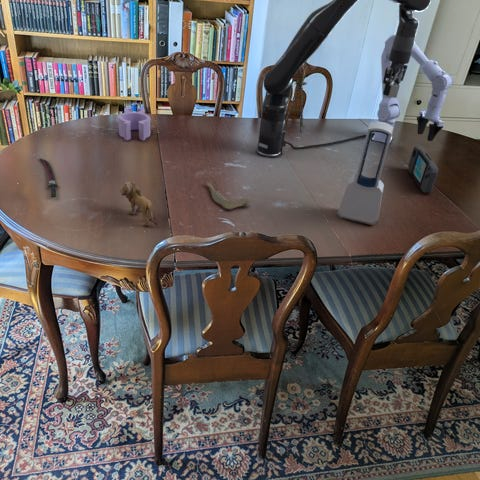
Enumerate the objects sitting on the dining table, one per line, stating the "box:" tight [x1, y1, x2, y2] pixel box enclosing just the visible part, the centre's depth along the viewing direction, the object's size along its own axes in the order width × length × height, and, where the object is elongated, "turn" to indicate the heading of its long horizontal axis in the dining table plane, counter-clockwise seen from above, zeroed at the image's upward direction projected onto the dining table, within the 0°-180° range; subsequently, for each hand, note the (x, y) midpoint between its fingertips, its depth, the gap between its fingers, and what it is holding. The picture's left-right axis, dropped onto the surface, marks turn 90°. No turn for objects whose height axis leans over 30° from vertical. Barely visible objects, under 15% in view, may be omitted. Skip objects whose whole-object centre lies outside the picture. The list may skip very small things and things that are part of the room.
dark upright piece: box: [284, 60, 308, 132], centre depth 206 cm, size 9×8×30 cm
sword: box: [40, 158, 59, 198], centre depth 151 cm, size 31×3×1 cm, turn 26°
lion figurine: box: [119, 181, 159, 227], centre depth 134 cm, size 15×5×9 cm, turn 50°
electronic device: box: [337, 121, 394, 226], centre depth 139 cm, size 12×8×30 cm, turn 71°
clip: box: [117, 106, 151, 142], centre depth 190 cm, size 20×12×7 cm, turn 11°
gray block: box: [381, 82, 400, 99], centre depth 182 cm, size 4×5×5 cm
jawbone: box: [205, 181, 254, 211], centre depth 149 cm, size 9×20×2 cm, turn 50°
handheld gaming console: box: [407, 145, 439, 195], centre depth 173 cm, size 23×3×10 cm, turn 178°
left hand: (389, 93), depth 183 cm, fingers closed on gray block, 6 cm apart
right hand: (424, 137), depth 197 cm, fingers open, 7 cm apart
